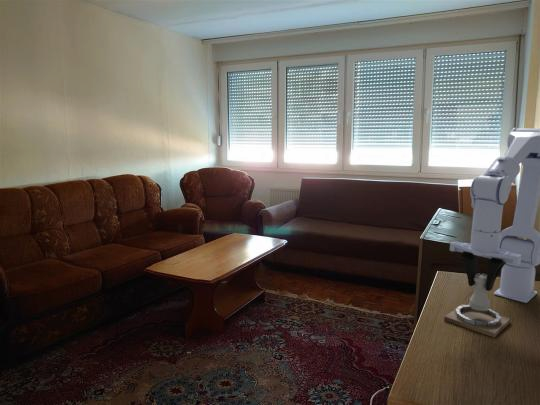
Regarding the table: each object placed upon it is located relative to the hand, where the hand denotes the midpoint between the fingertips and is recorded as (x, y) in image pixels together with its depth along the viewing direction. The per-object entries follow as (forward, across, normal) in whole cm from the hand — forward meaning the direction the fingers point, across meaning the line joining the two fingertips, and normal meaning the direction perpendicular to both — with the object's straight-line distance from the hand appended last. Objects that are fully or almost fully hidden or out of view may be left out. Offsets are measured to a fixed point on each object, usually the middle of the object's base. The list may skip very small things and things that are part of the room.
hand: (480, 287), depth 96 cm
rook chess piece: (+5, 0, +1) cm, 5 cm away
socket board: (+8, 0, 0) cm, 8 cm away
